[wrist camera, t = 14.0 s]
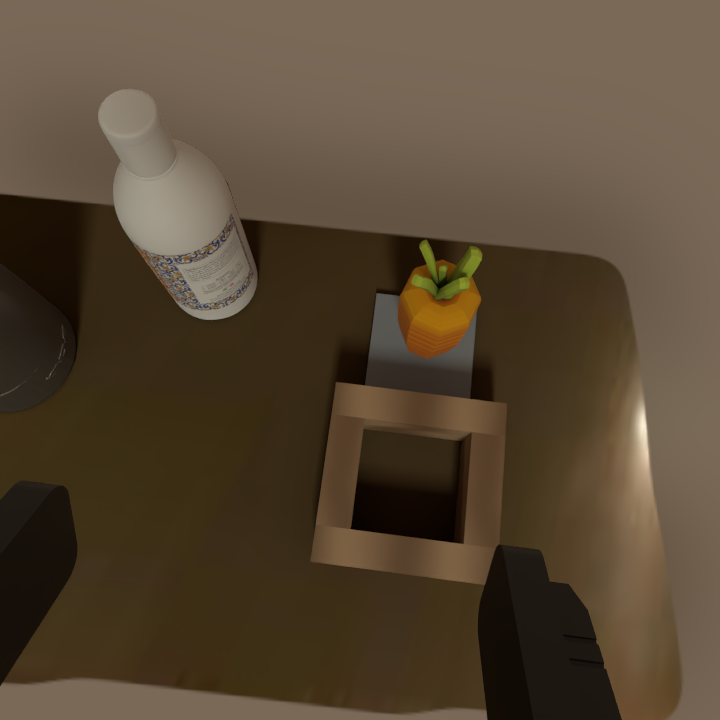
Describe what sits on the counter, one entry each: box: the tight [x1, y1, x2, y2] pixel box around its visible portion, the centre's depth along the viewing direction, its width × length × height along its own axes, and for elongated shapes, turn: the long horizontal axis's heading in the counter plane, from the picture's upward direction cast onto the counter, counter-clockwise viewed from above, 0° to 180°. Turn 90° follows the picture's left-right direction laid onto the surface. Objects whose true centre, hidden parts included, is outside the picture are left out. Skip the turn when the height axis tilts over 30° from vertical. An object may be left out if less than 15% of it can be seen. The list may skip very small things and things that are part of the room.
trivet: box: [365, 293, 477, 399], centre depth 46 cm, size 8×8×1 cm
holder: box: [310, 382, 507, 585], centre depth 42 cm, size 12×12×4 cm
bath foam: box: [98, 89, 258, 320], centre depth 38 cm, size 7×7×20 cm
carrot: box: [398, 240, 482, 359], centre depth 39 cm, size 5×5×15 cm
